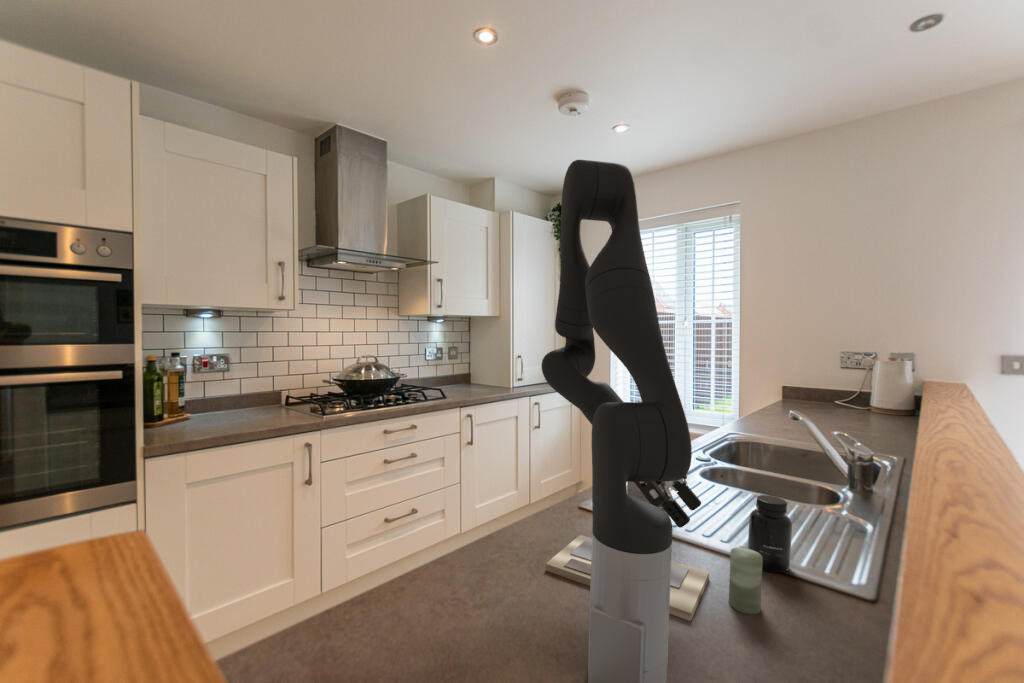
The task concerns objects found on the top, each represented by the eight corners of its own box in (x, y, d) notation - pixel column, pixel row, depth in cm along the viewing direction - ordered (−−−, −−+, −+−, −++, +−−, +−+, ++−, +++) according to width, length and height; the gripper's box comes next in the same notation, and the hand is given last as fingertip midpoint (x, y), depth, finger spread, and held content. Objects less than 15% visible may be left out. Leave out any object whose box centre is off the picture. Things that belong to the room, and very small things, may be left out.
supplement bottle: (767, 576, 80) (770, 507, 80) (738, 557, 87) (741, 493, 87) (799, 571, 82) (802, 504, 82) (768, 553, 89) (771, 491, 89)
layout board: (690, 621, 67) (691, 611, 67) (545, 570, 80) (545, 562, 80) (708, 578, 79) (709, 570, 79) (579, 540, 92) (579, 533, 92)
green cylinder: (759, 617, 68) (761, 564, 68) (726, 607, 71) (728, 555, 71) (761, 603, 72) (763, 552, 72) (730, 594, 75) (732, 545, 74)
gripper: (627, 429, 74) (700, 518, 68) (653, 416, 86) (717, 490, 80) (595, 456, 77) (662, 543, 71) (624, 440, 89) (684, 513, 83)
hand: (691, 515), depth 76 cm, fingers open, 8 cm apart
